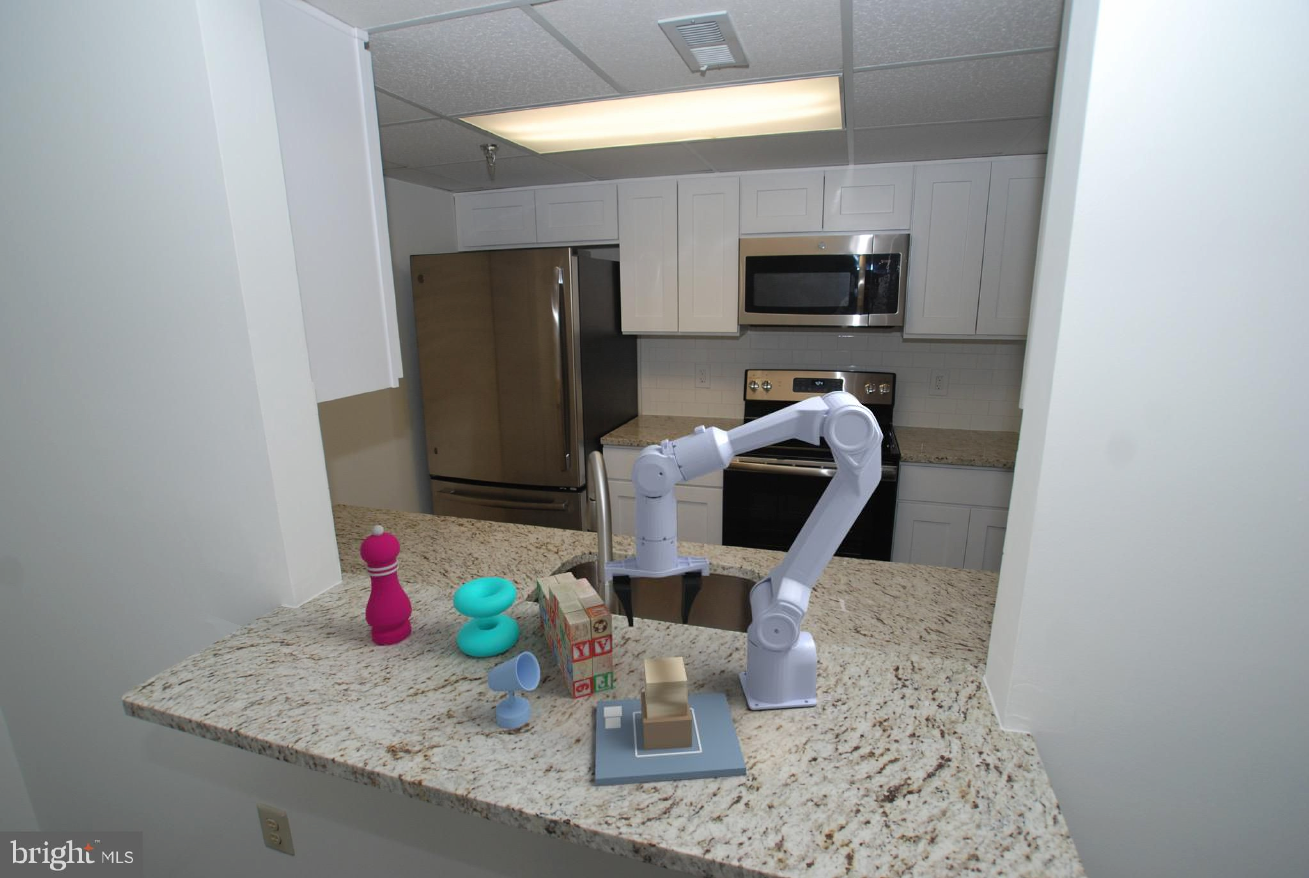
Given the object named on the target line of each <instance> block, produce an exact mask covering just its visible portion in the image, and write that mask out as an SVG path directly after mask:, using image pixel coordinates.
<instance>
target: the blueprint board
mask: <svg viewBox="0 0 1309 878" xmlns="http://www.w3.org/2000/svg"><path fill="white" fill-rule="evenodd" d="M595 718H596V721H595V722H596V728H595V730H596V731H595V775H594V776H595V777H594V778H595V779H594V781H595V787H598V786H612V785H627V784H637V783H638V784H641V783H652V782H655V783H656V782H665V781H678V780H679V781H681V780H690V779H691V780H692V779H706V778H718V777H719V778H720V777H731V776H746V775H747V765H746V763H745V759H744V755H743V751H742V748H741V744H740V741H739V738H738V735H737V731H736V728H735V727H736V726H735V724H734V721H733V717H732V714H731V711H730V707H729V703H728V701H727V695H726V693H725V692H717V693H698V694H687V716H676V717H662V718H648V719H647V710H646V700H645V691H640V698H638V697H637V698H625V699H611V700H610V699H609V700H608V699H607V700H597V701H596V717H595Z"/></svg>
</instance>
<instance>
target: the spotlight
mask: <svg viewBox="0 0 1309 878" xmlns="http://www.w3.org/2000/svg"><path fill="white" fill-rule="evenodd" d="M539 664H540V663H539V662H538V659H537V658H536V656H535V655H534V654H533V653H532V652H530V651H524V652H522V653H520V654H518V655H516V656H514V657H512V658H510V659H508V660H507V661H504V662H503V663H502V664H499V665H498V666H496V667H494V668H492V669H491V670H490V671H489V672H488V674H487V685H488V687H489V688H490V690H491V691H493V692H508V697H506V698H504V699H502V700H500V701H499V702H498V703H497V705H496V707H495V716H496V717H495V719H496V722H497V725H498V726H499V727H500V728H504V729H516V728H519V727H521V726H523V725H525V724H526V723H528V721H529V719H531V708H530V702H529V700H528V699H527V698H526V697H524V696H519V695H518V696H517V695H515V692H523V691H524V692H527V691H528V692H529V691H534V690H535V689H536V688H537V687H538V685H539V684H540V680H541V668H540V665H539Z"/></svg>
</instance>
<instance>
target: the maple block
mask: <svg viewBox="0 0 1309 878" xmlns="http://www.w3.org/2000/svg"><path fill="white" fill-rule="evenodd" d="M643 670H644V671H643V672H644V674H643V675H644V676H643V677H644V679H643V680H644V692H645V700H646V710H647V719H648V718H662V717H676V716H687V695H688V678H687V674H686V670H685V664H684V660H683V657H682V656H678V657H677V656H676V657H675V656H674V657H673V656H672V657H660V658H645V659H643Z"/></svg>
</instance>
